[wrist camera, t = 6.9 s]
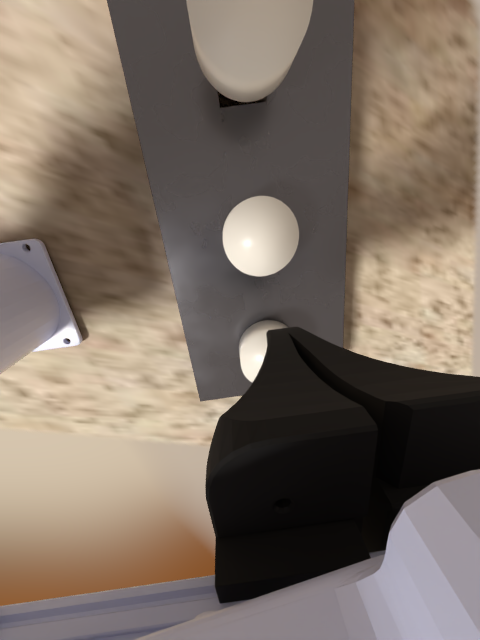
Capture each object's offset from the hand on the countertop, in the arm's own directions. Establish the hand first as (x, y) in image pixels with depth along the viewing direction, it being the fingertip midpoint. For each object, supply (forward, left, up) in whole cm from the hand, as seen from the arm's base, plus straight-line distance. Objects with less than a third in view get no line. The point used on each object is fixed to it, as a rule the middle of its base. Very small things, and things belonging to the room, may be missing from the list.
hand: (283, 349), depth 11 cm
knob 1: (0, +12, -6) cm, 13 cm away
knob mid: (0, +4, -9) cm, 10 cm away
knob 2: (0, -3, -9) cm, 10 cm away
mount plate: (0, +4, -9) cm, 10 cm away
